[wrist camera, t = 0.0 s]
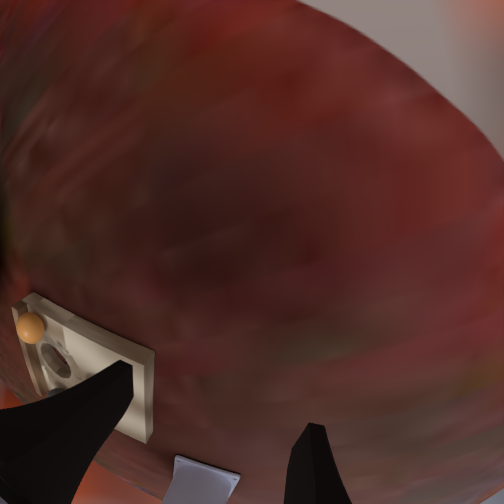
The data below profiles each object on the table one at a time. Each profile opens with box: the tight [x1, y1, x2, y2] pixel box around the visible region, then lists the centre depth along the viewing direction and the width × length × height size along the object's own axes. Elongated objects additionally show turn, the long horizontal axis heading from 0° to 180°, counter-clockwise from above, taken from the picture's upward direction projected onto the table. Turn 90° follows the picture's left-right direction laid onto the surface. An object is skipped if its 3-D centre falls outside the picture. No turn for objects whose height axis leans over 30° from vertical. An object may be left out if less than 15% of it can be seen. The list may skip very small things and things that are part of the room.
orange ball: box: [16, 312, 44, 344], centre depth 22 cm, size 3×3×3 cm
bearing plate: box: [11, 292, 155, 443], centre depth 25 cm, size 13×15×4 cm
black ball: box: [47, 388, 64, 398], centre depth 25 cm, size 3×3×3 cm
